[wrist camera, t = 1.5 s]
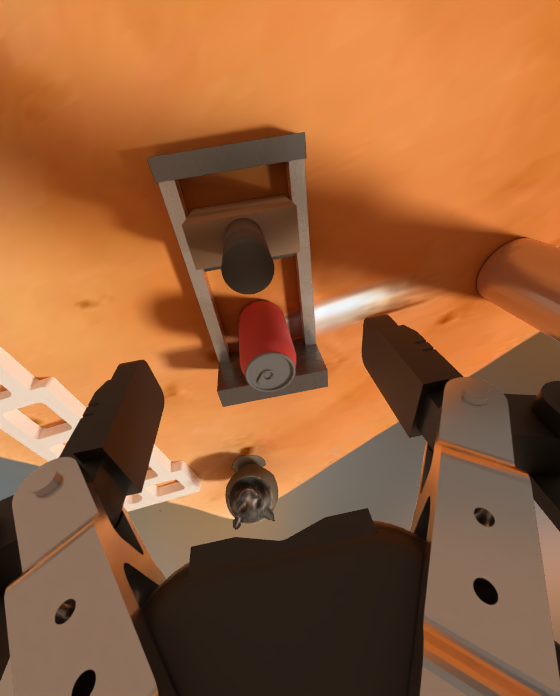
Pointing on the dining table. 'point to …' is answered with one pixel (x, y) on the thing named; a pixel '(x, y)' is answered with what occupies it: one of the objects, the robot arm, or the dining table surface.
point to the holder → (49, 440)
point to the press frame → (230, 374)
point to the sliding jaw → (243, 239)
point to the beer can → (266, 347)
